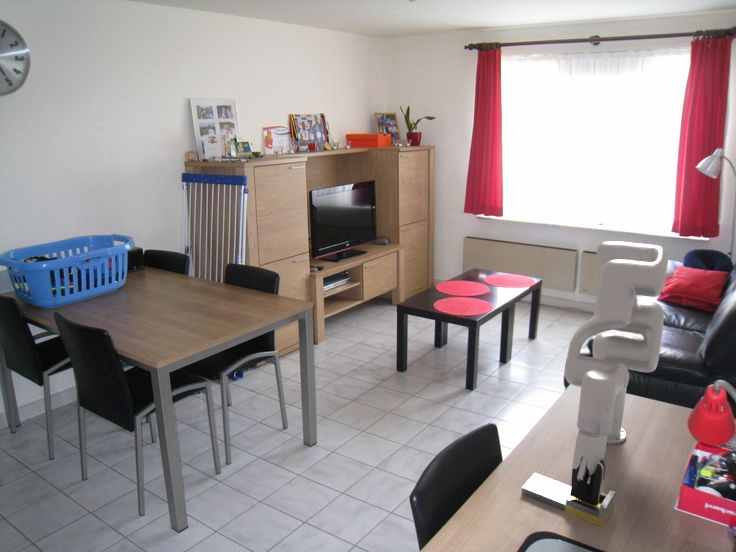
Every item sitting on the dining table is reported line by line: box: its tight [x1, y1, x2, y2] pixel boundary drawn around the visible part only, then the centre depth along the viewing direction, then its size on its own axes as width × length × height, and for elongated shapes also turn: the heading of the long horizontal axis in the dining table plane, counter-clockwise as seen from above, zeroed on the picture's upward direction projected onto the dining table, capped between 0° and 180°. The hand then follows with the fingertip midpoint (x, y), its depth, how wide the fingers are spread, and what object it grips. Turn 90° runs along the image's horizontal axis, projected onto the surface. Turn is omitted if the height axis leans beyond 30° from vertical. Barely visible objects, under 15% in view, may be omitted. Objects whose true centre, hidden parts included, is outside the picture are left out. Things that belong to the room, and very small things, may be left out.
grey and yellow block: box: [521, 472, 616, 528], centre depth 147 cm, size 8×20×5 cm, turn 52°
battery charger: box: [570, 459, 606, 506], centre depth 143 cm, size 7×4×11 cm, turn 52°
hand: (586, 490), depth 144 cm, fingers closed on battery charger, 3 cm apart
